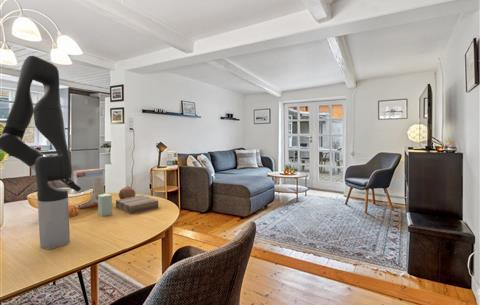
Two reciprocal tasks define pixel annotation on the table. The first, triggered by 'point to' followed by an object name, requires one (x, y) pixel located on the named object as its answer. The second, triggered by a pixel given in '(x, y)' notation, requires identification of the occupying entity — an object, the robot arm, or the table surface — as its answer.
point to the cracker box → (89, 184)
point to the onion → (126, 193)
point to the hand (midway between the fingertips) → (76, 188)
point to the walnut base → (136, 204)
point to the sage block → (104, 204)
